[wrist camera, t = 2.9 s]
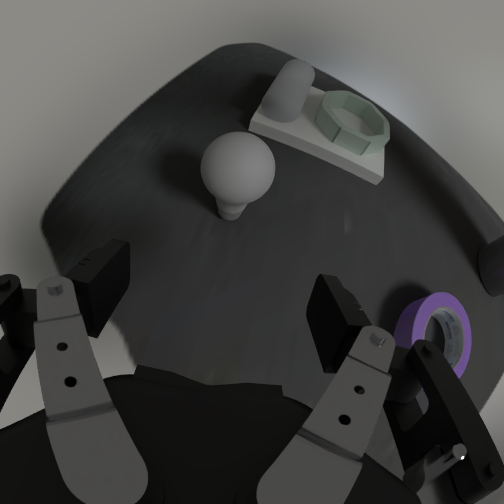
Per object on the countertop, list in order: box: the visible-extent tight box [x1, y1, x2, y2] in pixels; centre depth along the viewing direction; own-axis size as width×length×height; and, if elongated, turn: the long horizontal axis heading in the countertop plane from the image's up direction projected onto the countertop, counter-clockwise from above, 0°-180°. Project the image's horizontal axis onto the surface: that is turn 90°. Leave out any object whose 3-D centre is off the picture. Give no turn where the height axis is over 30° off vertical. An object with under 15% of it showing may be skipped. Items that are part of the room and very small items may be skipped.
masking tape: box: [393, 292, 471, 390], centre depth 26 cm, size 12×12×4 cm
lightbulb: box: [201, 132, 275, 221], centre depth 24 cm, size 6×6×11 cm
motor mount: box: [248, 59, 390, 185], centre depth 34 cm, size 19×14×7 cm
